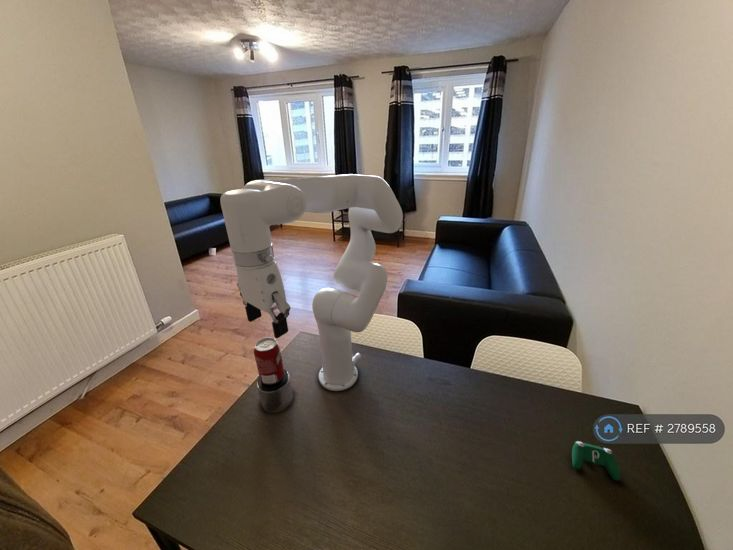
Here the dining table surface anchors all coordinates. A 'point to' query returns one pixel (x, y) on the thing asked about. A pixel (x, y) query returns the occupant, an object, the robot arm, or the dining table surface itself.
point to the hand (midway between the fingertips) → (267, 326)
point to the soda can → (269, 361)
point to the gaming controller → (595, 458)
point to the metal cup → (275, 394)
